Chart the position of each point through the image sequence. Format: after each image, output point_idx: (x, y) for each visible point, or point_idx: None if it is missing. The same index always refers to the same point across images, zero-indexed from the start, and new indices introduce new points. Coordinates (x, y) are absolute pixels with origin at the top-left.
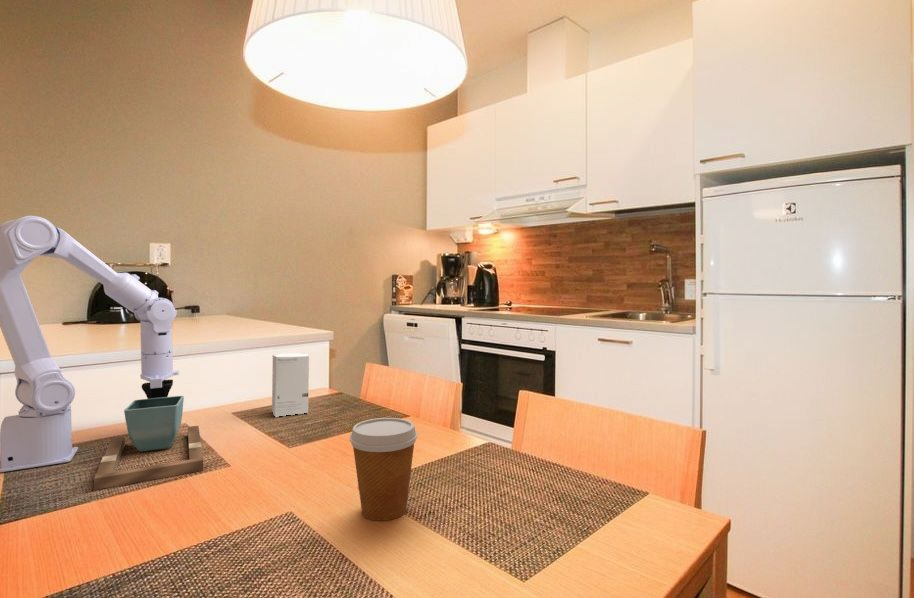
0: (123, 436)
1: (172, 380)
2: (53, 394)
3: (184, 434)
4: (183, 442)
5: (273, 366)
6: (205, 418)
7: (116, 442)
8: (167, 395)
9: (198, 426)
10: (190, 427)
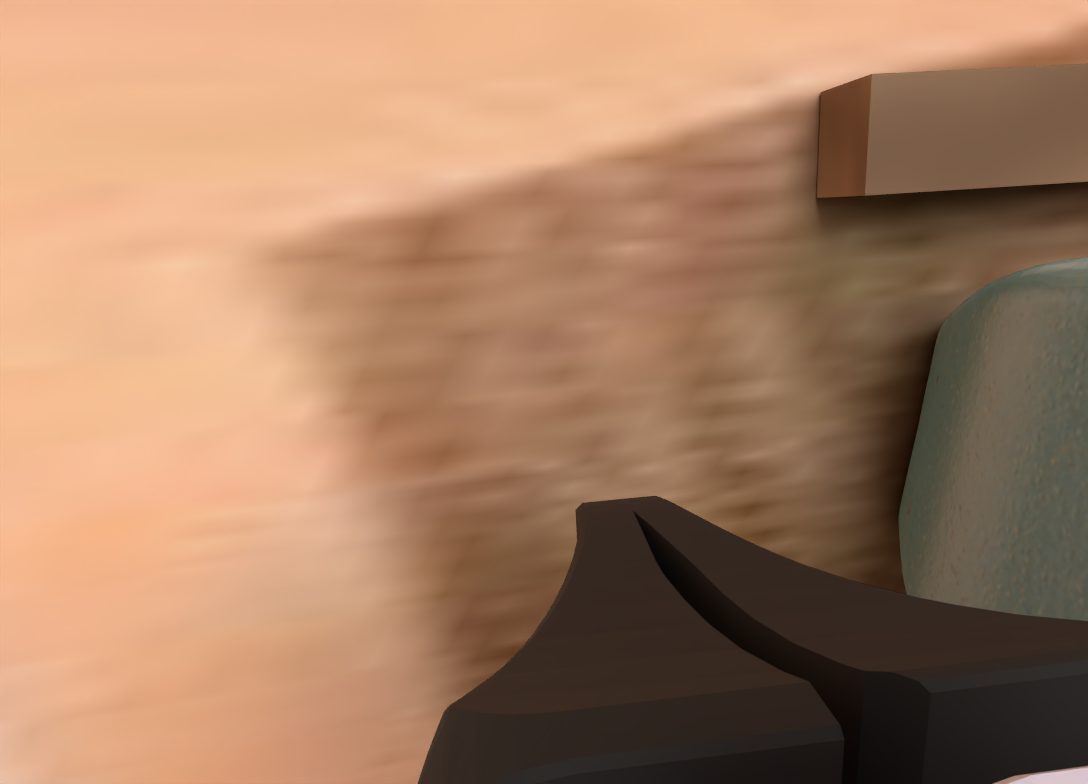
0: None
1: (716, 760)
2: None
3: (758, 233)
4: (1026, 226)
5: None
6: (127, 16)
7: None
8: (879, 592)
9: (914, 73)
10: (904, 164)
